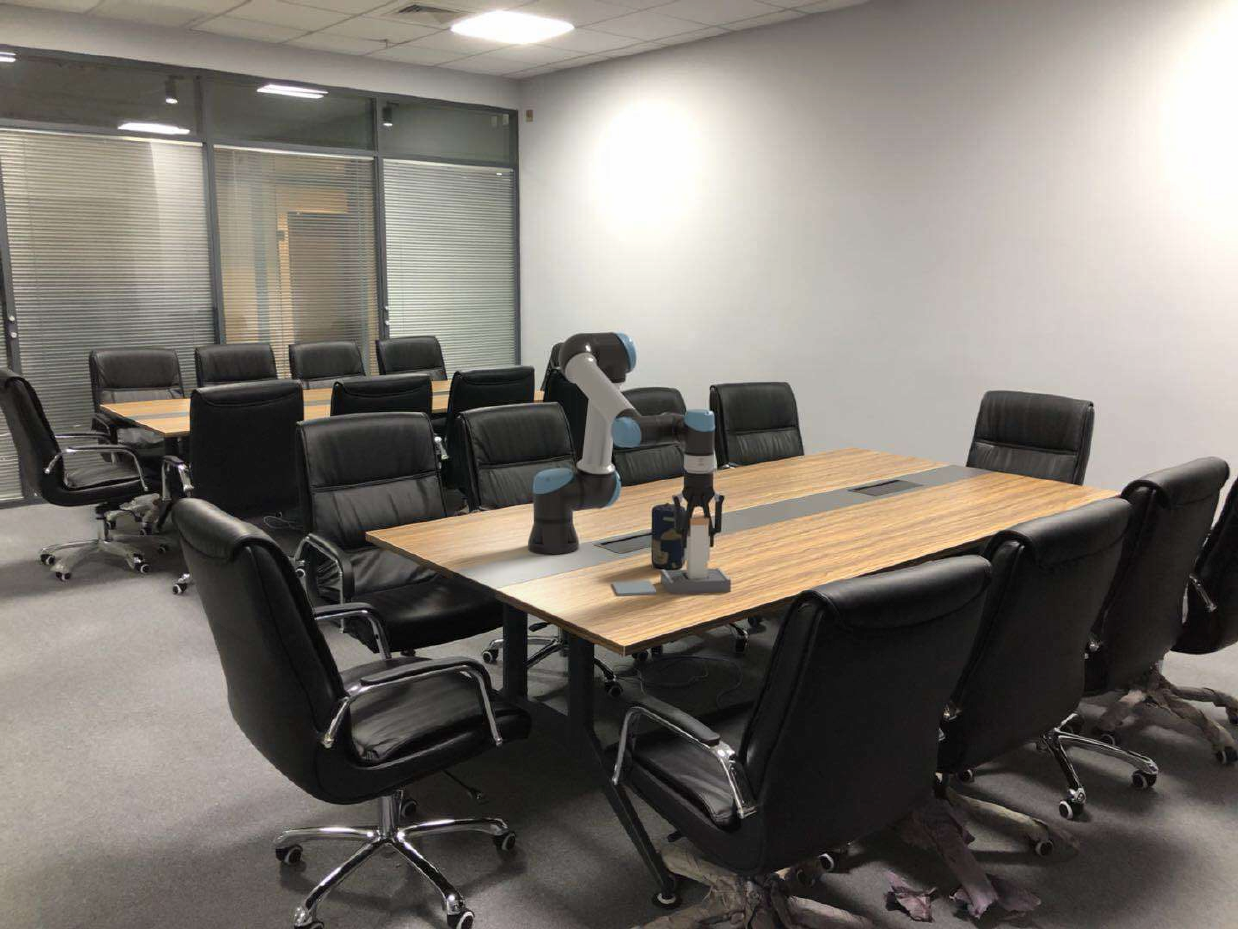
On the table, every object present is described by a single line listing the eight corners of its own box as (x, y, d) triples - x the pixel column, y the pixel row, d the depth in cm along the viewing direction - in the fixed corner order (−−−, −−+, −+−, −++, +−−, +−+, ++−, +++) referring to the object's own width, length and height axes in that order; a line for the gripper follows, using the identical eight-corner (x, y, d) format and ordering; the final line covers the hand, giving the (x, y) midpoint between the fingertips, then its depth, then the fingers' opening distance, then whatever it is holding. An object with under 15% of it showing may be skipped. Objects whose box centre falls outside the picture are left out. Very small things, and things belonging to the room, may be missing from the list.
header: (669, 594, 245) (669, 581, 244) (660, 581, 255) (660, 569, 255) (730, 591, 247) (730, 579, 247) (719, 579, 258) (720, 567, 257)
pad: (617, 595, 243) (617, 593, 243) (612, 584, 253) (612, 582, 253) (657, 594, 245) (657, 591, 245) (649, 582, 255) (649, 580, 254)
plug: (689, 580, 248) (690, 519, 246) (685, 575, 253) (686, 515, 250) (707, 579, 249) (709, 518, 246) (703, 574, 254) (704, 514, 251)
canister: (683, 561, 275) (684, 499, 272) (687, 570, 266) (688, 506, 263) (650, 561, 275) (650, 499, 272) (652, 571, 266) (652, 506, 262)
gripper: (667, 474, 241) (666, 564, 245) (736, 472, 244) (733, 562, 248) (661, 468, 249) (660, 557, 253) (728, 467, 251) (726, 554, 255)
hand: (697, 559), depth 250 cm, fingers closed on plug, 4 cm apart
